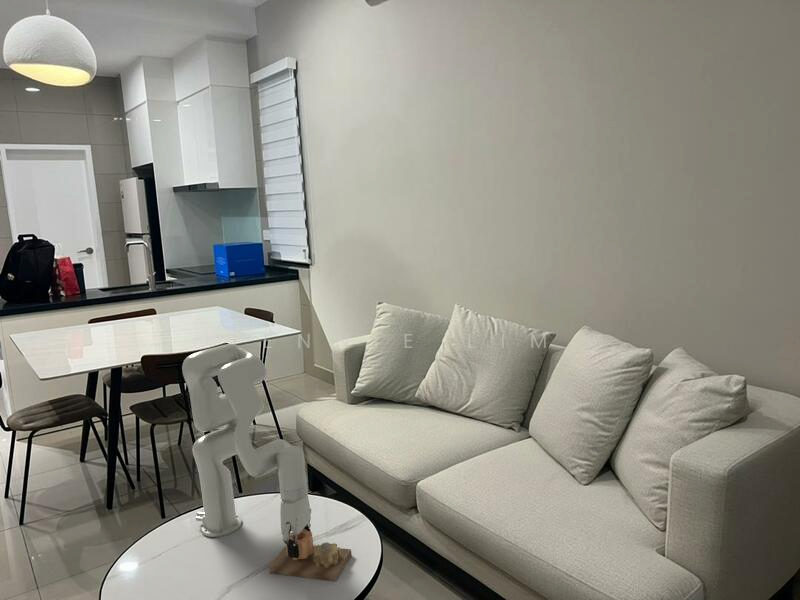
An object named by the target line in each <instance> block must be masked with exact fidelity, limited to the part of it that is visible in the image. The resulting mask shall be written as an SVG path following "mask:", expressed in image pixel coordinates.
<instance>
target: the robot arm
mask: <svg viewBox="0 0 800 600" xmlns="http://www.w3.org/2000/svg"><path fill="white" fill-rule="evenodd" d="M181 369H182V377H183V378H184V381H185V383H186V386H187V389H188V393H189V399H190V406H191V412H192V413H191V414H192V419H193V424H194V426H195V429H196V430H197V431H199V432H202V433H204V432H205V433H206V432H209V433H206V434H204V435H202V436H200V437H199V438H198V439H196V440H195V442H194V443H193V444H192V451H191V452H192V455H193V458H194V462H195V464H196V467H197V471H198V476H199V483H200V484H199V485H200V491H201V497H202V505H203V511H197V513H196V517H195V521H196V522H202V525H201V533H202V534H203V535H204V536H206V537H209V538H220V537H224V536H227V535H230V534H232V533H234V532H236V531H237V530H239V528H241V526H242V524H243V520H242V518H241V516H240V515H238V514H236V513H237V512H236V506H235V505H236V504H235V498H234V489H233V488H234V487H233V478H232V474H231V471H230V469H229V467H227V466H226V465H224V463H223V462H224V461H225V460H227V459H229V458H231V457H234V456H235V455H236V456H238V458H239V460H240V462H241V465H242V467H243V469H244V470H245V471H246V472H247V474H248V475H249V476H250V477H253V478H260V477H262V476H264V475H267V474H269V473H271V472H273V471H275V470H277V474H278V482H279V486H278V487H279V493H280V499H281V501H280V514H279V515H280V528H281V529H280V530H281V534H282V542H283V543H284V544H285V546H286V545H287V550H288V557H291V558H299V548H298V544H297V536H298V534H299V533H300V532H301V531H302V530H303V529H306V530H307V531H311V526H312V524H311V519H312V518H311V516H312V515H311V514H312V508H311V507H310V506H311V505H310V500H309V492H308V491H309V490H308V482H307V481H308V480H307V472H306V471H307V470H306V462H305V454H304V452H305V451H303V449H302V448H301V447H300V446H296V445H292V444H291V443H289V442H288V441H287V440H285V439H279V438H278V439H274V440H272V441H270V442H268V443H266V444H264V445H262V446H261V445H260V446H259V447H257V448H254V446H253V443H252V441H251V438H250V430H251V429H250V428H251V425H252V424H253V421H254V420H255V419H256V418H257V417H258V416H259V414H260V413H262V411H263V410H264V408H265V404H264V401H263V400H262V397H261V395H260V394H259V392H258V390H257V386H256V385H255V384H258V383H261V382H263V381H264V380H265V379H266V378H267V377H266V376H267V368H266V366H265V364H264V362H263V361H262V359H260V357H258V355H256V354H255V353H253V352H251V351H249V350H247V349H246V348H244V347H242V346H241V345H238V344H236V343H227V344H222V345H219V346H214V347H211V348H207V349H204V350H200V351H197V352H194V353H192V354H190V355H188V356H186V358H185V359H184V360H183V363H182V366H181ZM216 376H217V379H218V380H217V381H218V382H219V385H220V386H221V389H222V391H223V394H219V387H218V384H217V383H216V381H215V380H214V377H216ZM221 427H222V428H221ZM216 429H217V430H216ZM213 430H214V431H213ZM211 431H212V432H211ZM292 532H294V533H292ZM290 536H294V540H291V539H290Z"/></svg>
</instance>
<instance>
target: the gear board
mask: <svg viewBox="0 0 800 600" xmlns="http://www.w3.org/2000/svg"><path fill="white" fill-rule="evenodd" d="M313 548H314V549H313V553H312V555H311V554H310V555H309V556H307V558H305V559H303V558H301V559H297V560H293V558H291V557H288V556H287V547H286V545H285V546H284V547H283V549H282V550H281V551H280V552H279V554H278V555H277V556H276V557H275V559H274V560H273V561H272V562H271V563H270V565H269V566H268V569H269V574H274V575H282V576H288V577H289V576H290V577H296V578H297V577H299V578H305V579H307V578H308V579H315V580H322V581H329V582H330V581H332V582H337V580H338V579H339V578H340V576H341V574H342V572H343V571H344V569H345V567H346V566H347V565H348V562H349V561H350V559H351V558H352V556H353V555H352V549H351V548H341V547H340V546H339V547H338V544H337V543H335V542H334V543H330V542H323V543H321V544H320V545H319V544H317V545H314V544H313Z"/></svg>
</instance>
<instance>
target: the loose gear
mask: <svg viewBox="0 0 800 600" xmlns="http://www.w3.org/2000/svg"><path fill="white" fill-rule="evenodd" d="M291 533H294V532H293V531H291ZM290 539H291V540H294V536H290ZM297 544H298V548H299V558H293V560H297V559H301V558H303V559H305V558H307V556H309V555H310V554H311V555H312V553H313V549H314V548H313V545H314V540H313V532H312V531H311V530H310V531H307V530H306V529H303V530H302V531H301V532H300V533H299V534H298V536H297ZM285 546H286V547H287V545H286V544H285ZM287 556H288V550H287Z"/></svg>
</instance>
